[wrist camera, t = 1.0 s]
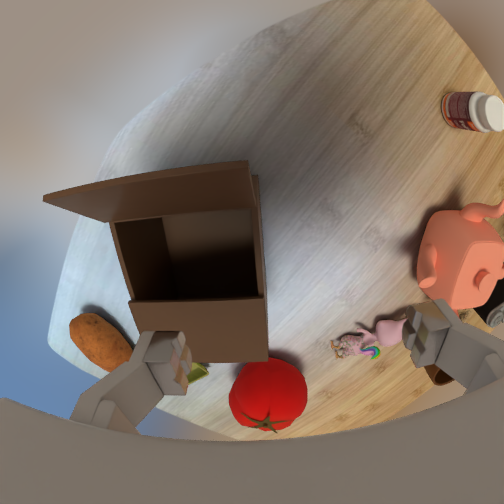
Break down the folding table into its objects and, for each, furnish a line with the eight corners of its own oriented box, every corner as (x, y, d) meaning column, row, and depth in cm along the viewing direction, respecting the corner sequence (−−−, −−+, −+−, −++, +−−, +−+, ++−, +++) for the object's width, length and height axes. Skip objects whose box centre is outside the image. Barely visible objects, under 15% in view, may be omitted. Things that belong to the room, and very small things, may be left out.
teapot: (424, 304, 38) (457, 352, 28) (382, 243, 34) (421, 289, 24) (487, 245, 33) (530, 279, 23) (456, 173, 29) (512, 196, 19)
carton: (154, 186, 31) (103, 221, 20) (257, 174, 31) (257, 205, 19) (177, 296, 38) (150, 361, 26) (266, 292, 37) (268, 362, 26)
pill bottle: (441, 126, 27) (484, 132, 19) (438, 89, 25) (481, 87, 17) (467, 130, 26) (509, 137, 19) (465, 95, 24) (507, 96, 17)
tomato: (284, 334, 40) (290, 395, 30) (314, 376, 44) (323, 431, 34) (216, 361, 43) (206, 418, 33) (252, 397, 47) (251, 450, 37)
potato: (100, 295, 38) (85, 325, 32) (147, 350, 44) (141, 382, 38) (71, 310, 39) (55, 339, 33) (116, 361, 45) (109, 391, 38)
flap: (104, 222, 20) (104, 217, 20) (256, 207, 20) (256, 201, 20) (42, 201, 13) (43, 194, 13) (248, 167, 12) (247, 159, 12)
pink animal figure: (338, 352, 43) (424, 324, 38) (339, 381, 38) (434, 351, 33) (326, 326, 41) (421, 295, 36) (327, 356, 36) (433, 323, 30)
